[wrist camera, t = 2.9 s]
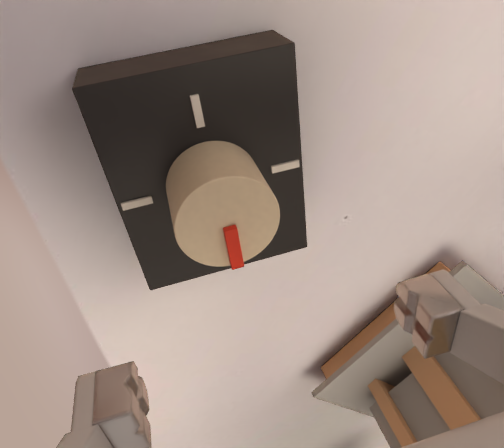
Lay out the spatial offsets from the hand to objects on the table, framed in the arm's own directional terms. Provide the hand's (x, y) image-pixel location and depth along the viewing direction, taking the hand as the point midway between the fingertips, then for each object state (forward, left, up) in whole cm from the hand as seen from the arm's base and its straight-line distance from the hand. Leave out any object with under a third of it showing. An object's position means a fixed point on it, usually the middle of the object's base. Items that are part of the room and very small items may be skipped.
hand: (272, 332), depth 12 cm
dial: (0, 0, -9) cm, 9 cm away
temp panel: (0, 0, -12) cm, 12 cm away
